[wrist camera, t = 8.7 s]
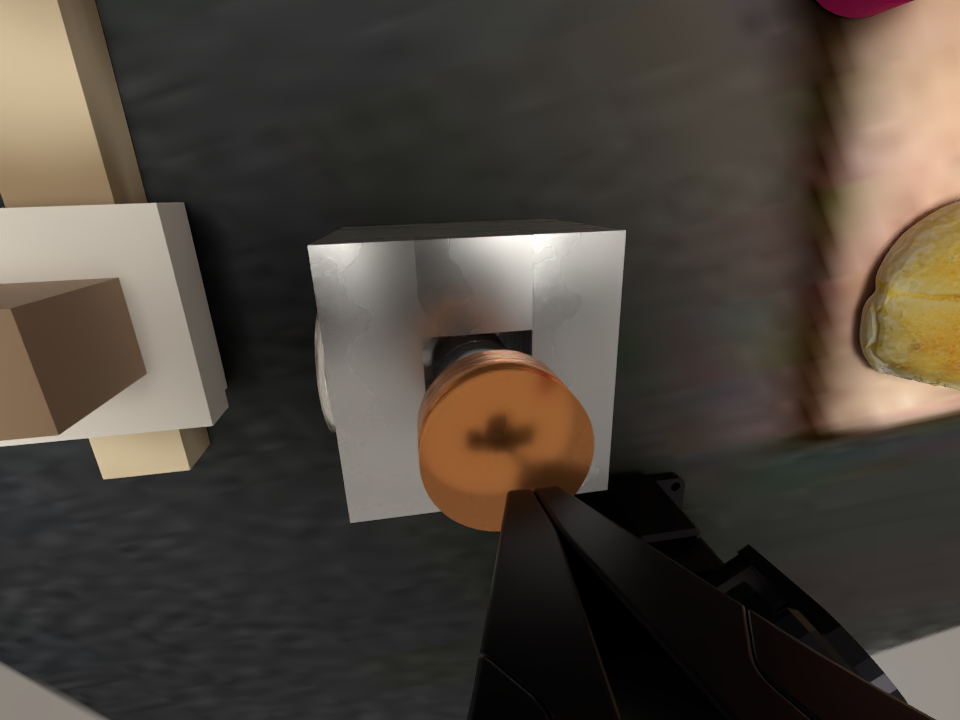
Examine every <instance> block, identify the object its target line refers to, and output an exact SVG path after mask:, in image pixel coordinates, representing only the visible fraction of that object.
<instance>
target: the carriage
mask: <svg viewBox="0 0 960 720" xmlns="http://www.w3.org/2000/svg"><path fill="white" fill-rule="evenodd" d="M226 388H227V383H226V379H225V375H224V370H223V366H222V362H221V358H220V353H219V349H218V345H217V341H216V336H215V332H214V328H213V324H212V319H211V315H210V311H209V307H208V302H207V298H206V294H205V290H204V285H203V281H202V277H201V273H200V268H199V264H198V260H197V256H196V251H195V247H194V243H193V239H192V234H191V230H190V226H189V222H188V217H187V213H186V209H185V205H184V202H170V203H138V204H108V205H79V206H50V207H20V208H0V447H1V446H11V445H21V444H32V443H42V442H52V441H63V440H73V439H83V438H94V437H104V436H114V435H125V434H135V433H145V432H156V431H166V430H176V429H187V428H197V427H207V426H213V425H214V424H215V423H216V422H217V420H218V419H219V418H220V417H221V416H222V414H223V413H224V412H225V411H226V409H227V408H228V407H229V406H228V402H227V398H226V393H225V390H226Z"/></svg>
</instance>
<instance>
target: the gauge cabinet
mask: <svg viewBox="0 0 960 720" xmlns="http://www.w3.org/2000/svg"><path fill="white" fill-rule="evenodd" d="M625 237H626V230H621V229H614V228H607V227H601V226H594V225H588V224H581V223H574V222H568V221H561V220H554V219H548V218H546V219H522V220H499V221H476V222H453V223H429V224H406V225H383V226H360V227H342V228H340V229H338V230H336V231H334V232H332V233H330V234H329V235H327V236H325V237H323V238H321V239H319V240H317V241H315V242H313V243H311V244H309V245H307V246H308V253H309V259H310V266H311V272H312V278H313V285H314V291H315V298H316V304H317V311H318V312H317V316H316V323H315V365H316V376H317V385H318V391H319V397H320V403H321V407H322V411H323V415H324V418H325V421H326V424H327V426H328V428H329V430H330V431H331V432H336V434H337V440H338V447H339V453H340V459H341V466H342V472H343V479H344V485H345V492H346V498H347V505H348V511H349V518H350V523H354V522H362V521H370V520H378V519H385V518H393V517H401V516H409V515H417V514H424V513H432V512H440V511H441V510H440V509H439V508H438V507H437V506H436V505H435V504H434V503H433V502H432V500H431V499H430V497H429V496H428V494H427V492H426V490H425V488H424V485H423V482H422V479H421V474H420V468H419V454H418V439H417V418H418V412H419V408H420V405H421V402H422V400H423V397H424V395H425V393H426V392H427V390H428V388H429V387H430V385H431V384H432V383H433V381H434V374H433V369H432V353H433V349H434V347H435V344H436V343H437V341H438V340H439V338H440V337H445V336H458V335H471V334H484V333H495V334H496V335H497V336H498V337H499V339H500V340H501V341H502V343H503V344H504V346H505V347H506V349H507V350H511V351H517V352H521V353H525V354H527V355H530V356H532V357H534V358H536V359H538V360H540V361H541V362H543V363H544V364H545V365H547V366H548V367H549V368H550V369H551V370H552V371H553V372H554V373H555V374H556V375H557V376H558V377H559V379H560V380H561V381H562V382H563V383H564V384H565V385H566V387H567V388H568V389H569V390H570V391H571V392H572V394H573V395H574V396H575V397H576V398H577V399H578V400H579V402H580V403H581V405H582V406H583V407H584V409H585V410H586V412H587V414H588V416H589V418H590V422H591V425H592V428H593V434H594V454H593V459H592V463H591V467H590V470H589V472H588V474H587V477H586V479H585V480H584V482H583V484H582V486H581V487H580V489H579V490H578V491H577V493H576V494H580V493H587V492H595V491H603V490H608V476H609V462H610V448H611V434H612V420H613V406H614V392H615V378H616V364H617V350H618V336H619V322H620V308H621V294H622V280H623V266H624V252H625Z"/></svg>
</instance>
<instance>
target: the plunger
mask: <svg viewBox="0 0 960 720" xmlns="http://www.w3.org/2000/svg"><path fill="white" fill-rule="evenodd" d="M432 369H433V374H434V381H433V383H432V384H431V385H430V387H429V388H428V390H427V392H426V393H425V395H424V397H423V400H422V402H421V405H420V408H419V412H418V418H417V439H418V454H419V468H420V474H421V479H422V482H423V485H424V488H425V490H426V492H427V494H428V496H429V497H430V499H431V500H432V502H433V503H434V504H435V505H436V506H437V507H438V508H439V509H440V510H441V512H443V513H444V514H445V515H447V516H448V517H449V518H451V519H453V520H454V521H456V522H458V523H460V524H463V525H465V526H467V527H471V528H475V529H478V530H485V531H501V525H502V520H503V514H504V508H505V502H506V496H507V493H508V492H509V491H511V490H519V489H527V488H528V489H531V490H533V489H534V488H536V487H543V486H551V485H556V486H558V487H560V488H562V489H563V490H565V491H566V492H568V493H570V494H571V495H573V496H574V495H575V494H576V493H577V491H578V490H579V489H580V487H581V486H582V484H583V482H584V480H585V479H586V477H587V474H588V472H589V470H590V467H591V463H592V459H593V454H594V434H593V428H592V425H591V422H590V418H589V416H588V414H587V412H586V410H585V409H584V407H583V406H582V405H581V403H580V402H579V400H578V399H577V398H576V397H575V396H574V395H573V394H572V392H571V391H570V390H569V389H568V388H567V387H566V385H565V384H564V383H563V382H562V381H561V380H560V379H559V377H558V376H557V375H556V374H555V373H554V372H553V371H552V370H551V369H550V368H549V367H548V366H547V365H545V364H544V363H543V362H541V361H540V360H538V359H536V358H534V357H532V356H530V355H527V354H525V353H521V352H517V351H511V350H507V349H506V347H505V346H504V344H503V343H502V341H501V340H500V339H499V337H498V336H497V335H496V334H495V333H484V334H471V335H458V336H445V337H440V338H439V340H438V341H437V343H436V344H435V347H434V349H433V353H432Z"/></svg>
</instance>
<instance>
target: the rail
mask: <svg viewBox="0 0 960 720" xmlns="http://www.w3.org/2000/svg"><path fill="white" fill-rule="evenodd" d="M0 193H1V196H2V199H3V201H4V204H5V207H6V208H20V207H50V206H79V205H108V204H138V203H148V202H147V198H146V195H145V191H144V187H143V183H142V179H141V175H140V172H139V168H138V164H137V160H136V156H135V152H134V149H133V145H132V141H131V137H130V133H129V129H128V126H127V122H126V118H125V114H124V110H123V106H122V102H121V99H120V95H119V91H118V87H117V83H116V79H115V76H114V72H113V68H112V64H111V60H110V56H109V53H108V49H107V45H106V41H105V37H104V33H103V30H102V26H101V22H100V18H99V14H98V10H97V7H96V3H95V0H0ZM89 441H90V443H91V446H92V449H93V452H94V454H95V457H96V460H97V463H98V466H99V468H100V471H101V474H102V477H103V479H112V478H121V477H131V476H140V475H149V474H158V473H168V472H177V471H186V470H191V468H192V467H193V466H194V465H195V463H196V462H197V461H198V459H199V458H200V457H201V455H202V454H203V453H204V452H205V450H206V449H207V448H208V446H209V445H210V440H209V436H208V433H207V429H206V427H197V428H187V429H176V430H166V431H156V432H145V433H135V434H125V435H114V436H104V437H94V438H89Z"/></svg>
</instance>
